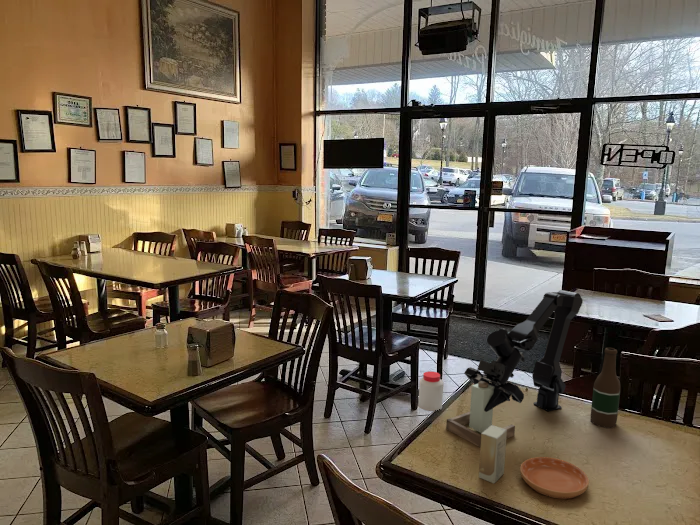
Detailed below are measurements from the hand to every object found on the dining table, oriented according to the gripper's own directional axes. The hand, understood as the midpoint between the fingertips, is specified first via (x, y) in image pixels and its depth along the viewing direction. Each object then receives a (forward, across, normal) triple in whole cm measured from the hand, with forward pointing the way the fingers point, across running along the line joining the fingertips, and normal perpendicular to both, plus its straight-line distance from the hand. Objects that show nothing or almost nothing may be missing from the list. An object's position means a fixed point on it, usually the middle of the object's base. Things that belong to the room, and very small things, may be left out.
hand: (478, 408), depth 157 cm
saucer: (+9, +28, +3) cm, 30 cm away
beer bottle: (-22, +17, +34) cm, 43 cm away
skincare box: (+16, +18, -5) cm, 24 cm away
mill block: (+4, 0, +6) cm, 7 cm away
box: (+5, 0, +6) cm, 8 cm away
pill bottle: (+5, -21, +7) cm, 23 cm away
